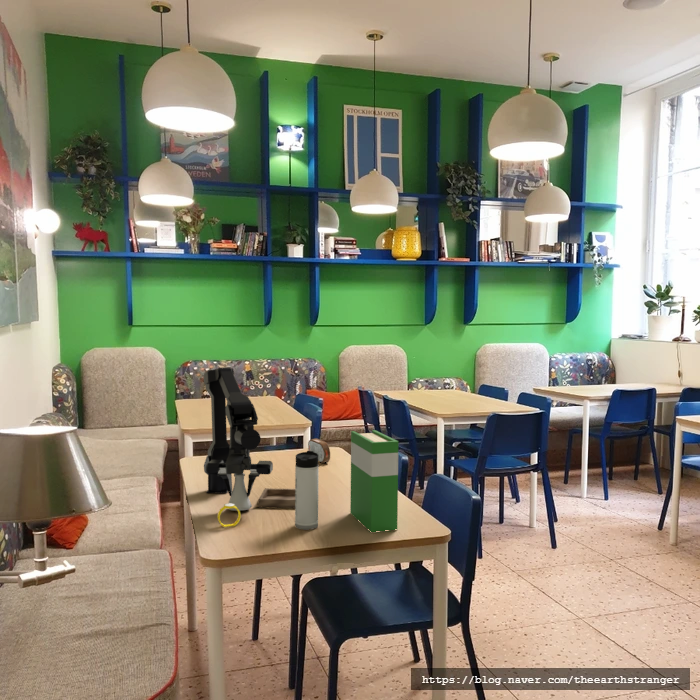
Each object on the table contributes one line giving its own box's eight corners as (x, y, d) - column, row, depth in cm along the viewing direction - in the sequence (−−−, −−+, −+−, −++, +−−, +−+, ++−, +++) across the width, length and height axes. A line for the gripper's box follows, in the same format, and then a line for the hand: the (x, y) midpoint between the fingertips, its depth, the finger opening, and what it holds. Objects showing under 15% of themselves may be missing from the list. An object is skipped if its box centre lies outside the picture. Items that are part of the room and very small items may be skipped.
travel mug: (321, 523, 172) (321, 451, 171) (314, 530, 166) (314, 456, 165) (299, 521, 173) (299, 450, 172) (291, 529, 167) (292, 454, 166)
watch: (238, 524, 171) (240, 502, 171) (240, 527, 169) (242, 505, 169) (216, 525, 169) (218, 503, 169) (218, 528, 167) (219, 506, 166)
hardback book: (350, 513, 181) (351, 431, 180) (374, 511, 184) (375, 430, 182) (371, 533, 164) (372, 442, 163) (397, 530, 167) (398, 441, 166)
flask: (252, 511, 180) (252, 476, 179) (226, 512, 179) (226, 477, 178) (251, 503, 187) (251, 470, 187) (227, 504, 186) (227, 471, 185)
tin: (330, 464, 243) (331, 443, 242) (323, 465, 241) (323, 443, 241) (313, 457, 256) (313, 436, 255) (306, 457, 254) (306, 437, 254)
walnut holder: (258, 507, 186) (258, 499, 186) (265, 496, 198) (265, 488, 198) (298, 508, 186) (298, 499, 185) (302, 496, 198) (302, 488, 197)
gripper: (200, 448, 174) (200, 503, 175) (267, 449, 174) (266, 504, 175) (210, 440, 185) (210, 492, 186) (273, 441, 185) (272, 493, 186)
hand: (239, 495), depth 183 cm, fingers closed on flask, 5 cm apart
